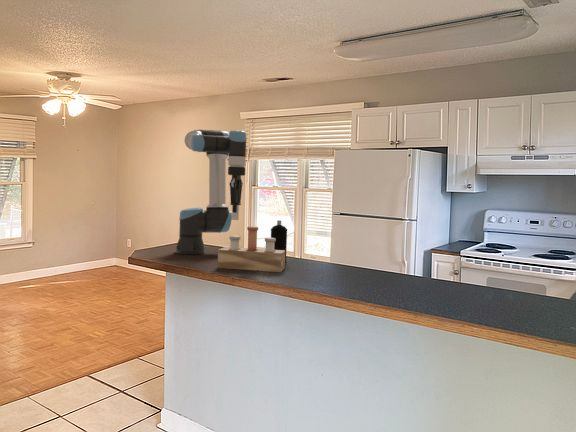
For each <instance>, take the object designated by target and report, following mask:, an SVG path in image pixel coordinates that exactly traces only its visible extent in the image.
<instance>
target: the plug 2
mask: <svg viewBox="0 0 576 432" xmlns="http://www.w3.org/2000/svg"><path fill="white" fill-rule="evenodd" d="M275 241H276V238H271V237H264V242H265V249H266V252H274V242H275Z"/></svg>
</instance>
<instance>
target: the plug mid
mask: <svg viewBox="0 0 576 432" xmlns="http://www.w3.org/2000/svg"><path fill="white" fill-rule="evenodd" d="M246 228H247V229H246V230H247V231H248V233H247V248H248V251H256V249H258V248H257V246H258V245H257V244H258V243H257V242H258V231H259V227H258V226H247V227H246Z"/></svg>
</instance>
